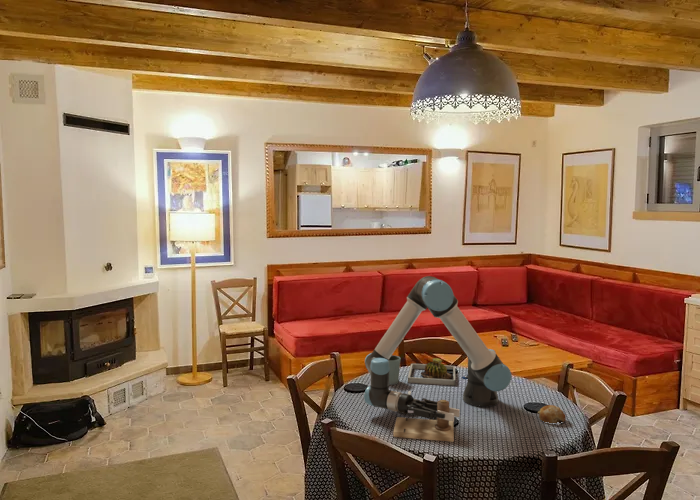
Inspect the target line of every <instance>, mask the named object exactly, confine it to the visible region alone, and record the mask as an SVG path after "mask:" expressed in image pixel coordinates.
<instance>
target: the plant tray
mask: <svg viewBox="0 0 700 500" xmlns="http://www.w3.org/2000/svg"><path fill="white" fill-rule="evenodd" d="M426 365H427V363H426V364H424V363H410V367H409V370H408V375H407V383H409V384H423V385H425V384H426V385H439V386H441V385H442V386H456V366H455V365H445V364H444V366H445V367H446V369H453V371H452V375H453V379H452V380H449V379H431V378H426V377H415V376H414V377H413V376H412V372H413V370H425V366H426Z"/></svg>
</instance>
